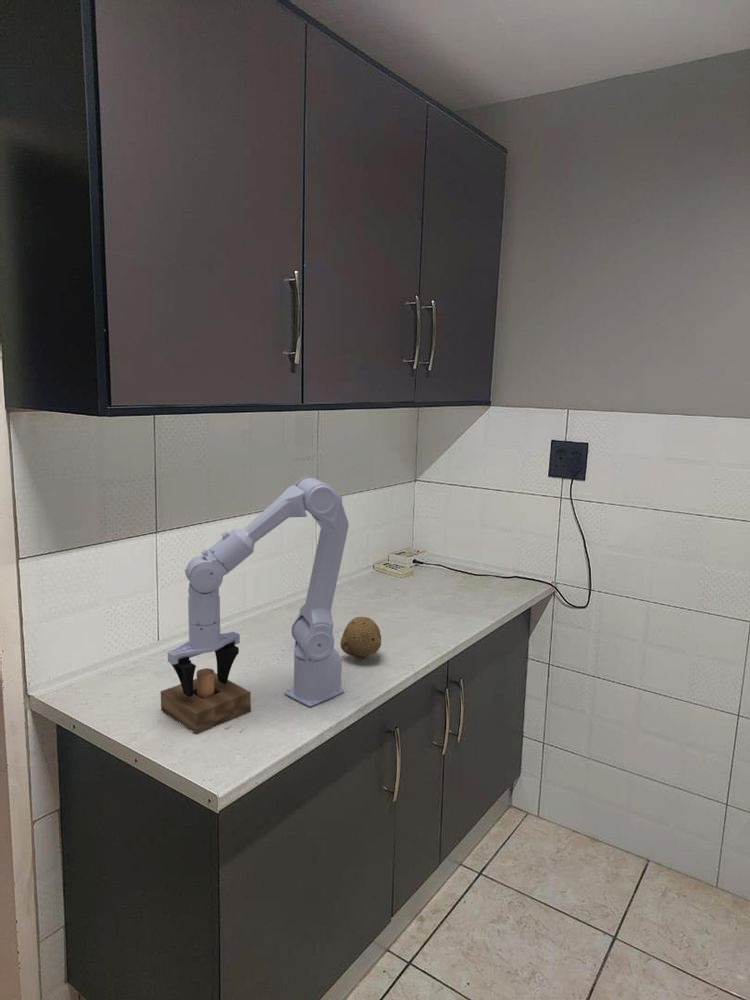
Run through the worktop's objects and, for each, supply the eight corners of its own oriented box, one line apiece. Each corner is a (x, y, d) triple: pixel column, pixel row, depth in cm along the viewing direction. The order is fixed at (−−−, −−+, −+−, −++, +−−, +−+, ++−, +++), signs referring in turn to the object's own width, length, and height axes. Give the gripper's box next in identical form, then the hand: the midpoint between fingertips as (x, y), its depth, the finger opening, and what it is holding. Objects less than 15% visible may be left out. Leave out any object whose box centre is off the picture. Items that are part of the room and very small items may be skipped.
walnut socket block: (214, 690, 139) (214, 672, 138) (250, 711, 131) (250, 692, 130) (161, 710, 130) (160, 691, 130) (196, 734, 123) (196, 713, 122)
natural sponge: (389, 661, 156) (391, 619, 154) (359, 671, 150) (361, 628, 148) (364, 648, 163) (365, 608, 161) (334, 657, 157) (335, 616, 155)
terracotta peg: (208, 700, 133) (207, 666, 132) (217, 706, 131) (217, 672, 129) (194, 706, 131) (193, 671, 129) (203, 712, 128) (202, 677, 127)
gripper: (224, 606, 135) (225, 670, 138) (157, 624, 125) (160, 693, 127) (246, 615, 131) (246, 681, 133) (178, 634, 120) (180, 706, 123)
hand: (205, 688), depth 130 cm, fingers open, 7 cm apart
